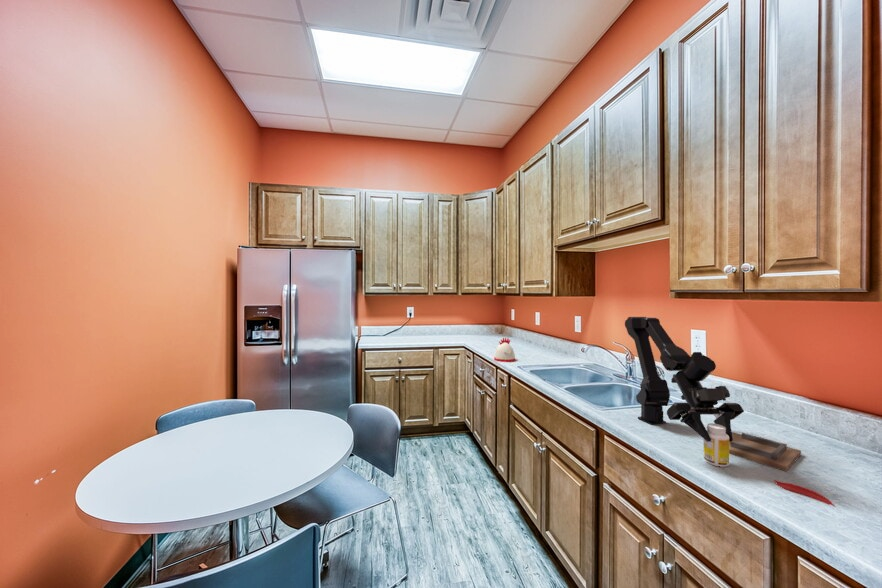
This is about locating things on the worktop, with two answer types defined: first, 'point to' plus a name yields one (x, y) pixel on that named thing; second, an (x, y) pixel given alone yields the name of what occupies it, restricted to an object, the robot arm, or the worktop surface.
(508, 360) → the cream dome hat
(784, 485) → the cayenne pepper
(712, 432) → the supplement bottle
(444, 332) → the worktop surface
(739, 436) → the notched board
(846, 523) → the worktop surface
